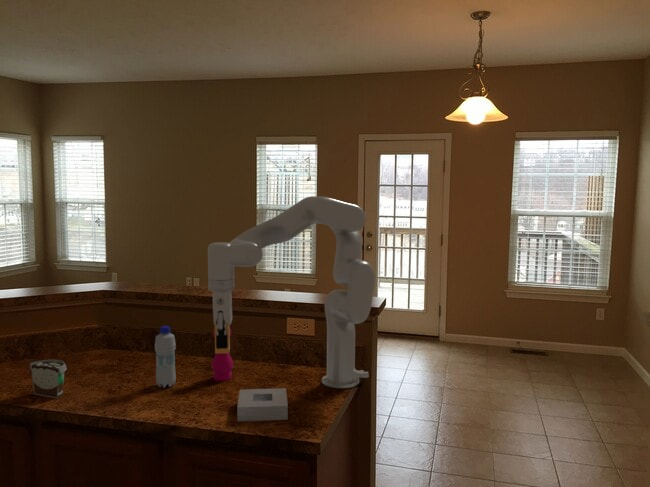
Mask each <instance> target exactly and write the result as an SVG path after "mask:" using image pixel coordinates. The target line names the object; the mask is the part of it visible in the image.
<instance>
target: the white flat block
mask: <svg viewBox="0 0 650 487" xmlns="http://www.w3.org/2000/svg"><path fill="white" fill-rule="evenodd" d="M238 393H239V394H238V400H237V408H236V409H237V410H236V411H237V412H236V414H237V422H254V421H255V422H258V421H259V422H261V421H284V420H285V421H287V420H288V419H289V418H288V416H289V414H288V413H289V410H288V408H289V406H288V396H287V388H284V387H283V388H280V387H279V388H253V389H251V388H250V389H248V388H247V389H239V392H238Z"/></svg>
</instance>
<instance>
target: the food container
mask: <svg viewBox="0 0 650 487" xmlns="http://www.w3.org/2000/svg"><path fill="white" fill-rule="evenodd" d="M29 370H31V378H32V388H33V395H34V396H35V395H36V396H41V397H46V398H54V399H60V398H61V397H62V396H63V395H64V385H65V383H64V382H65V372H66V371H67V365H66V363H65V361H64V360H62V359H61V360H60V359H44V360H38V361H32V362H30V365H29Z"/></svg>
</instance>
